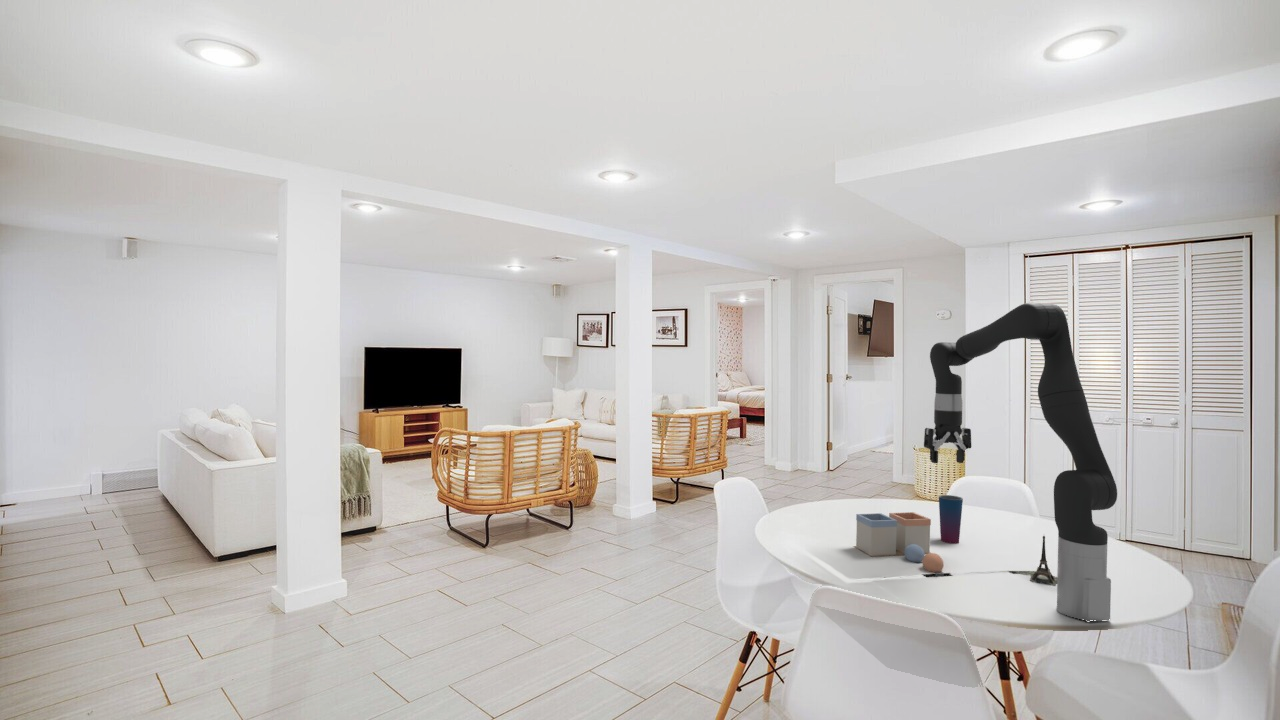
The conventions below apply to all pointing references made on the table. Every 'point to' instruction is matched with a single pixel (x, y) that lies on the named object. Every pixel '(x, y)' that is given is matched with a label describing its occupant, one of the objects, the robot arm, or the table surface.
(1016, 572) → the eiffel tower figurine
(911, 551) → the ball slate
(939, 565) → the ball terracotta
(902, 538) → the tube terracotta
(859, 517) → the tube slate
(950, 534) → the cup
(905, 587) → the table surface
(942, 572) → the mat
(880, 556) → the tube board
